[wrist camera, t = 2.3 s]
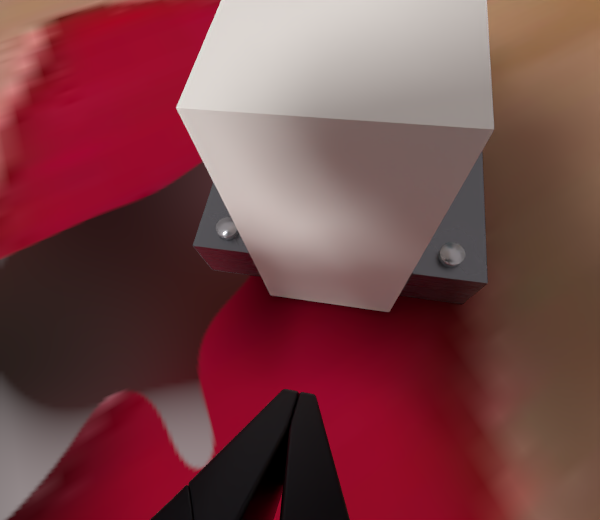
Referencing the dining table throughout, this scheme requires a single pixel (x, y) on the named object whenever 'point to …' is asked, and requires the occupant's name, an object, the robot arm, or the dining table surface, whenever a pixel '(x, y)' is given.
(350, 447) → the dining table surface
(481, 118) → the plug
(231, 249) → the housing
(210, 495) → the robot arm
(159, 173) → the dining table surface
